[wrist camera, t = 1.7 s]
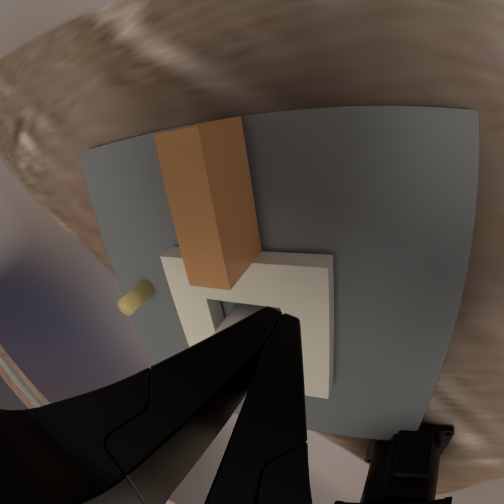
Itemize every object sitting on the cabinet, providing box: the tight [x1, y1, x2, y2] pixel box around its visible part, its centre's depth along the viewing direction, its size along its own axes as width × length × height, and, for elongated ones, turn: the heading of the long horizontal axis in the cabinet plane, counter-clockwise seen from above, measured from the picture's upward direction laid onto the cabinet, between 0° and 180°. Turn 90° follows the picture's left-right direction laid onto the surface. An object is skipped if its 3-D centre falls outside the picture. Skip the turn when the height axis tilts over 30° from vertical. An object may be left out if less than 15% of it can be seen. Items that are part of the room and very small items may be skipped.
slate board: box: [79, 105, 479, 440], centre depth 17 cm, size 22×22×4 cm
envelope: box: [0, 354, 44, 407], centre depth 76 cm, size 24×2×14 cm
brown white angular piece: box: [154, 117, 334, 399], centre depth 15 cm, size 16×9×4 cm, turn 9°
